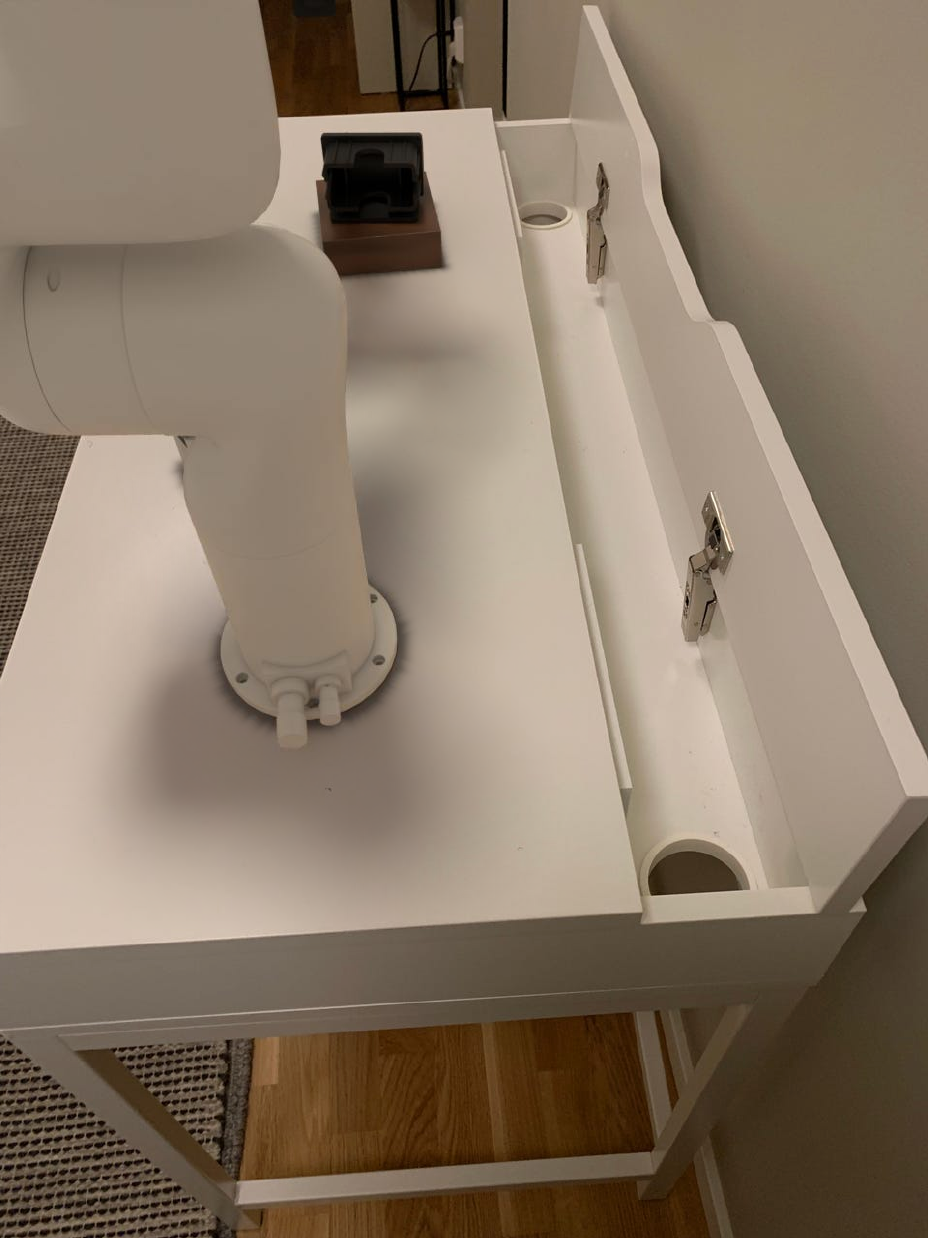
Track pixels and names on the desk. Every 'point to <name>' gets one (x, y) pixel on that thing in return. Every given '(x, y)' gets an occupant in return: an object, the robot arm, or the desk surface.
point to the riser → (381, 240)
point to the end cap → (373, 176)
